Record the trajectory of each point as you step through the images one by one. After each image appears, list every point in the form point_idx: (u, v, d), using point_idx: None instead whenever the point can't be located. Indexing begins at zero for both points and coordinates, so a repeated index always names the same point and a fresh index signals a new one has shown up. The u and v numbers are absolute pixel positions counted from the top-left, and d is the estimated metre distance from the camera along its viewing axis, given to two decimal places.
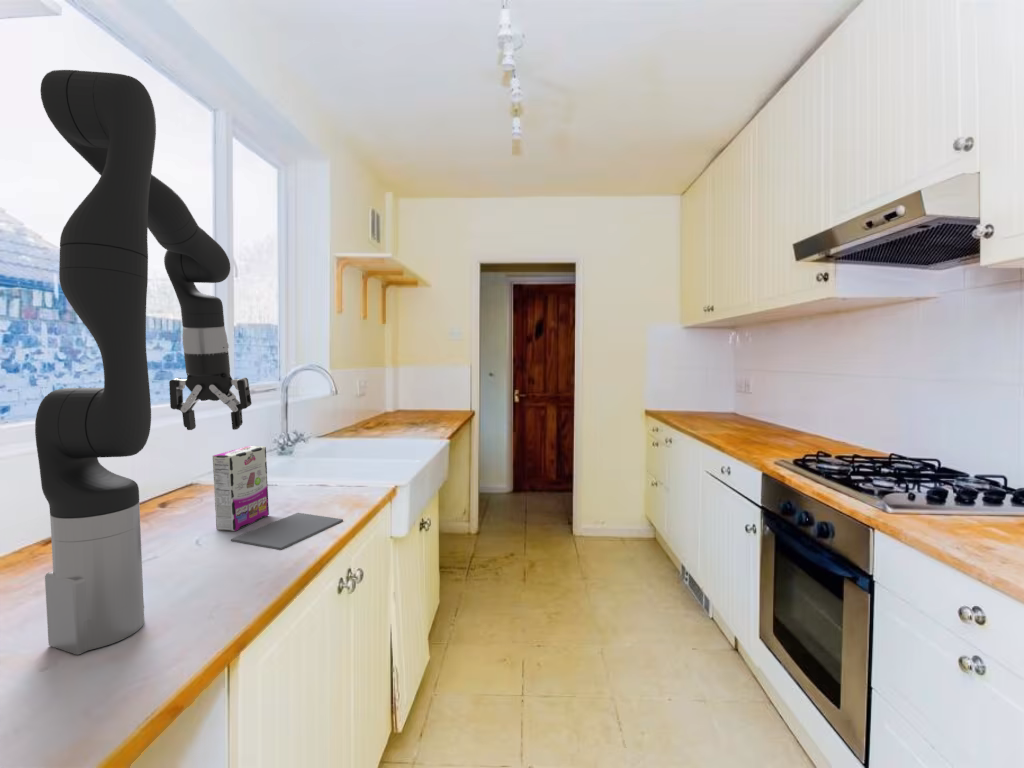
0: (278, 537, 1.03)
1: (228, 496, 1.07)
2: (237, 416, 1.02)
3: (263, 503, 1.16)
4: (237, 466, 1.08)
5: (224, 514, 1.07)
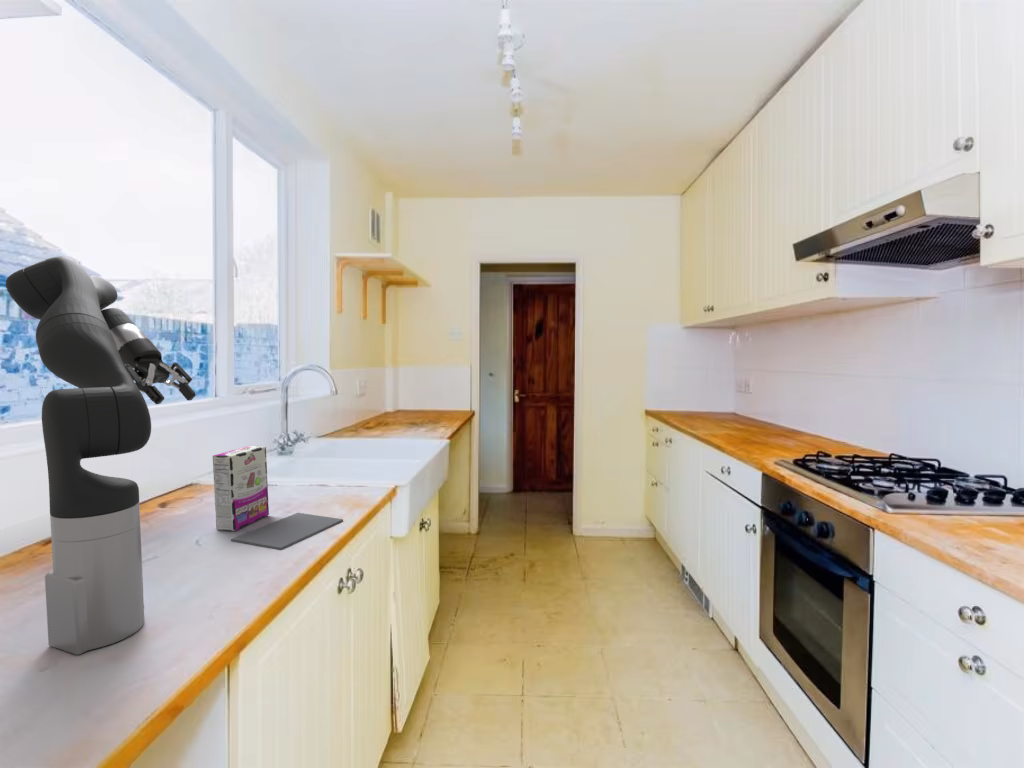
0: (278, 537, 1.03)
1: (228, 496, 1.07)
2: None
3: (263, 503, 1.16)
4: (237, 466, 1.08)
5: (224, 514, 1.07)
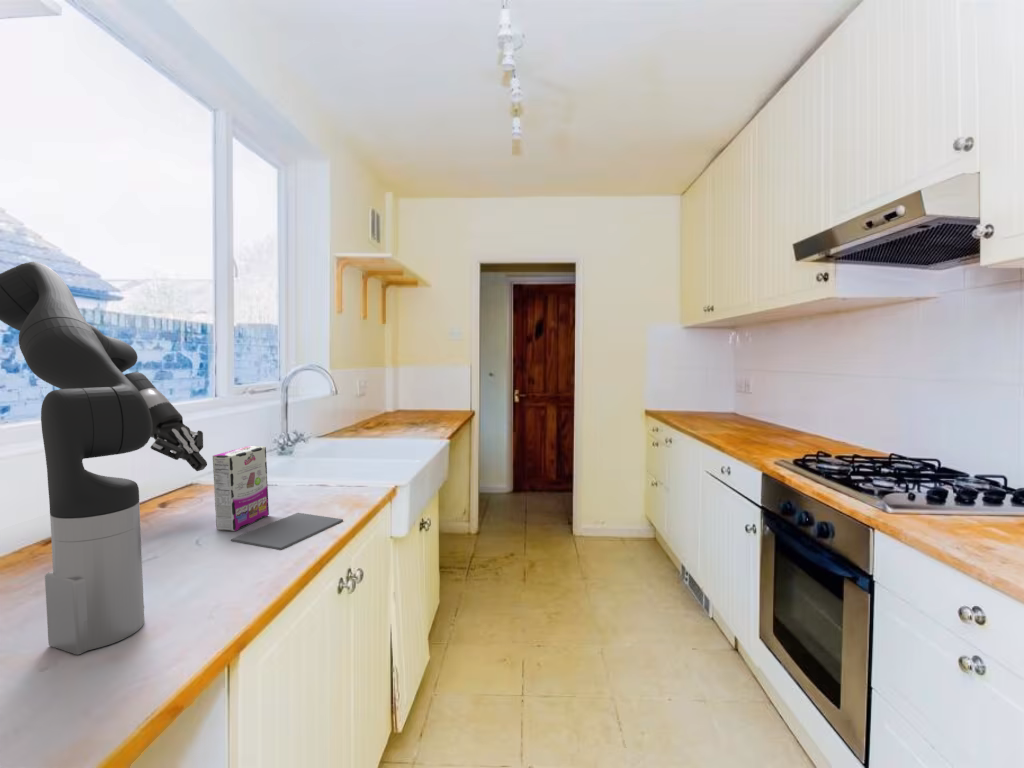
0: (278, 537, 1.03)
1: (228, 496, 1.07)
2: None
3: (263, 503, 1.16)
4: (237, 466, 1.08)
5: (224, 514, 1.07)
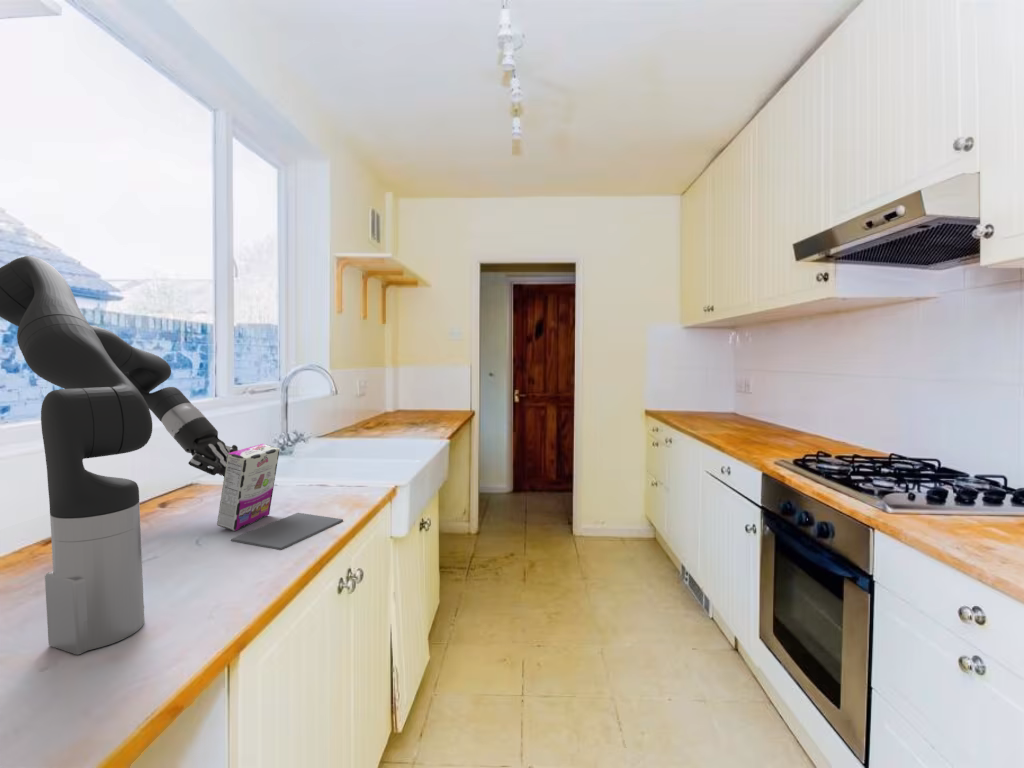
0: (278, 537, 1.03)
1: (235, 496, 1.07)
2: None
3: (266, 503, 1.16)
4: (250, 468, 1.07)
5: (228, 512, 1.07)
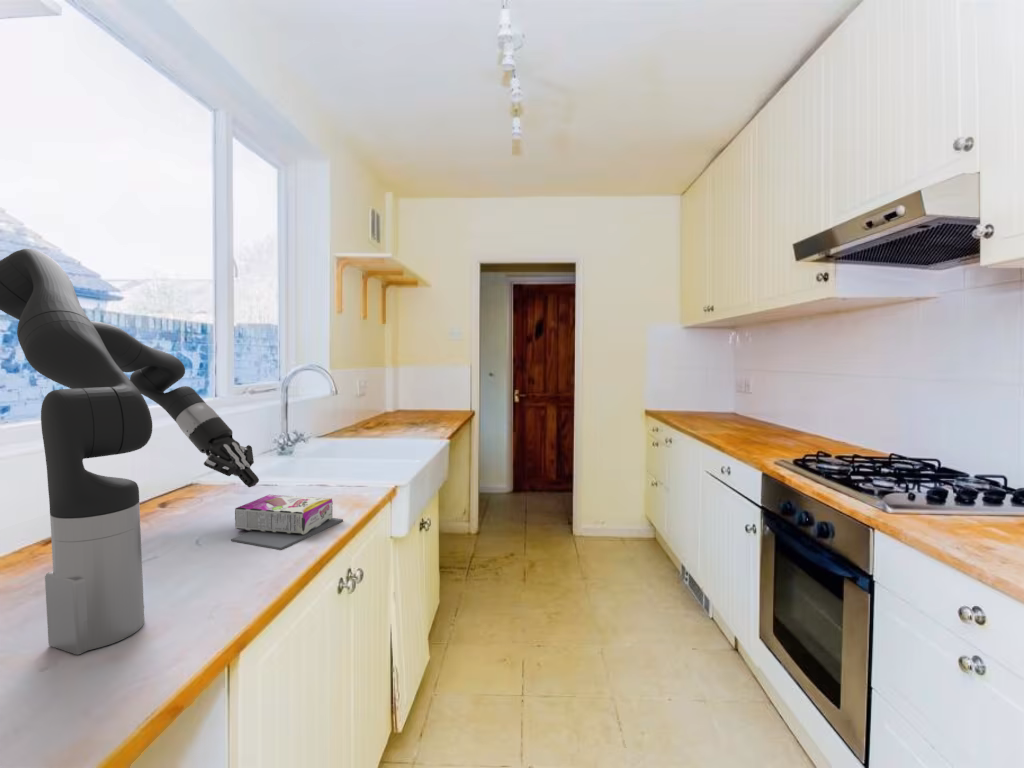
0: (278, 537, 1.03)
1: (266, 527, 1.05)
2: None
3: None
4: None
5: (249, 520, 1.06)
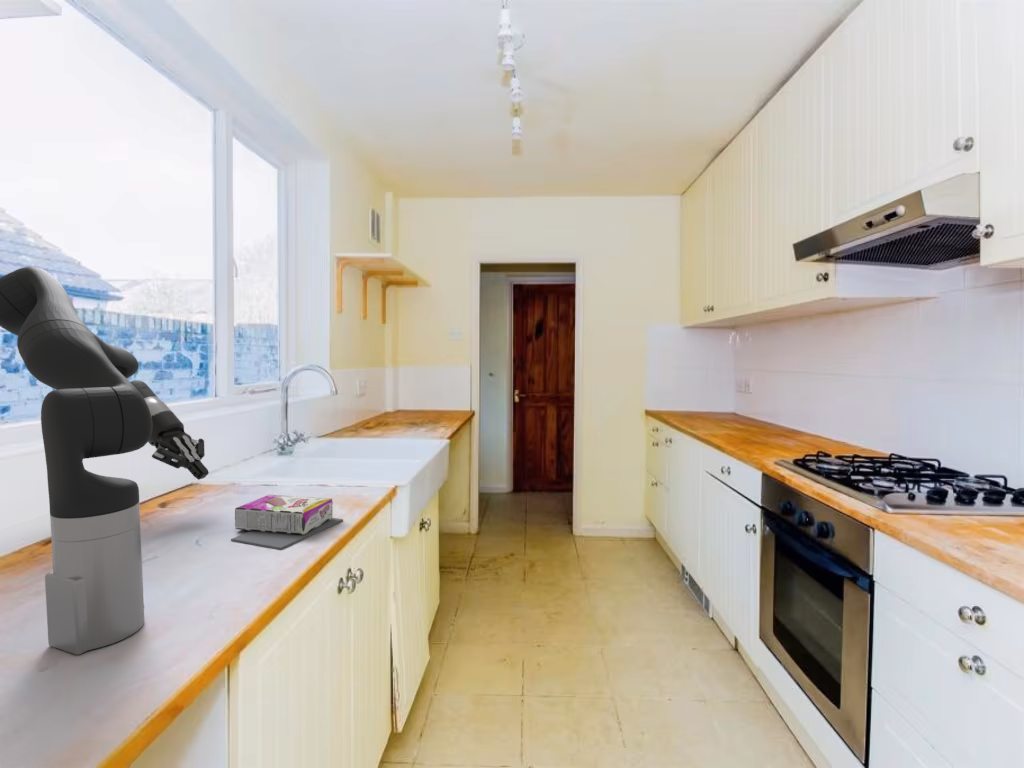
0: (278, 537, 1.03)
1: (266, 527, 1.05)
2: None
3: None
4: None
5: (249, 520, 1.06)
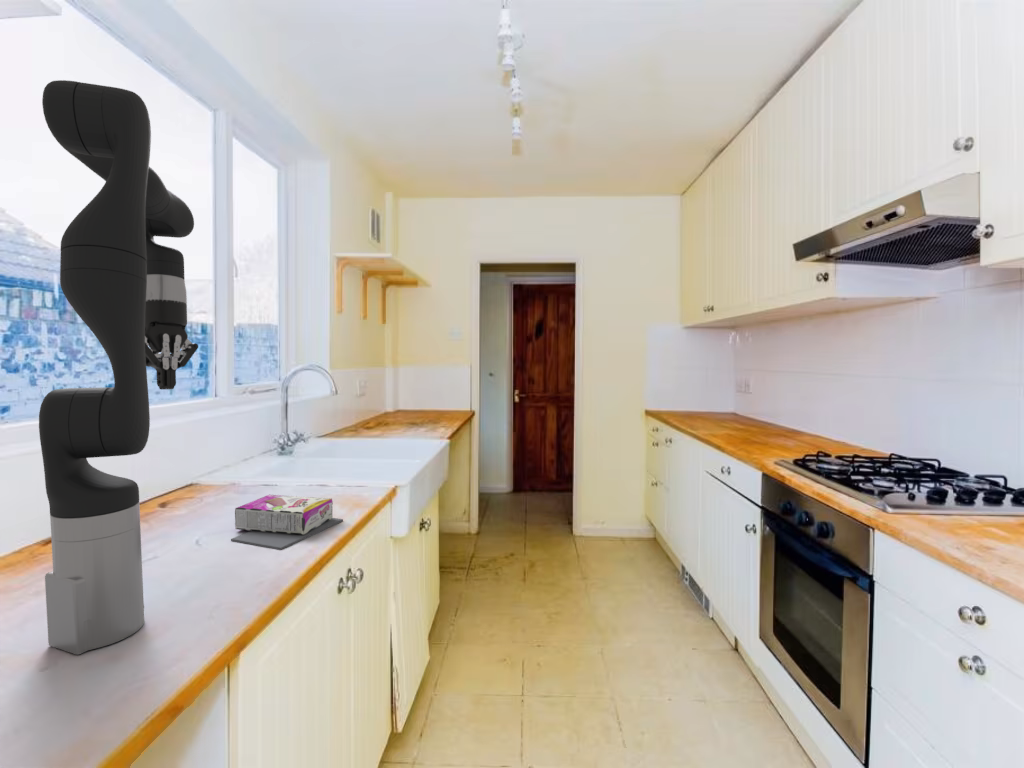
0: (278, 537, 1.03)
1: (266, 527, 1.05)
2: None
3: None
4: None
5: (249, 520, 1.06)
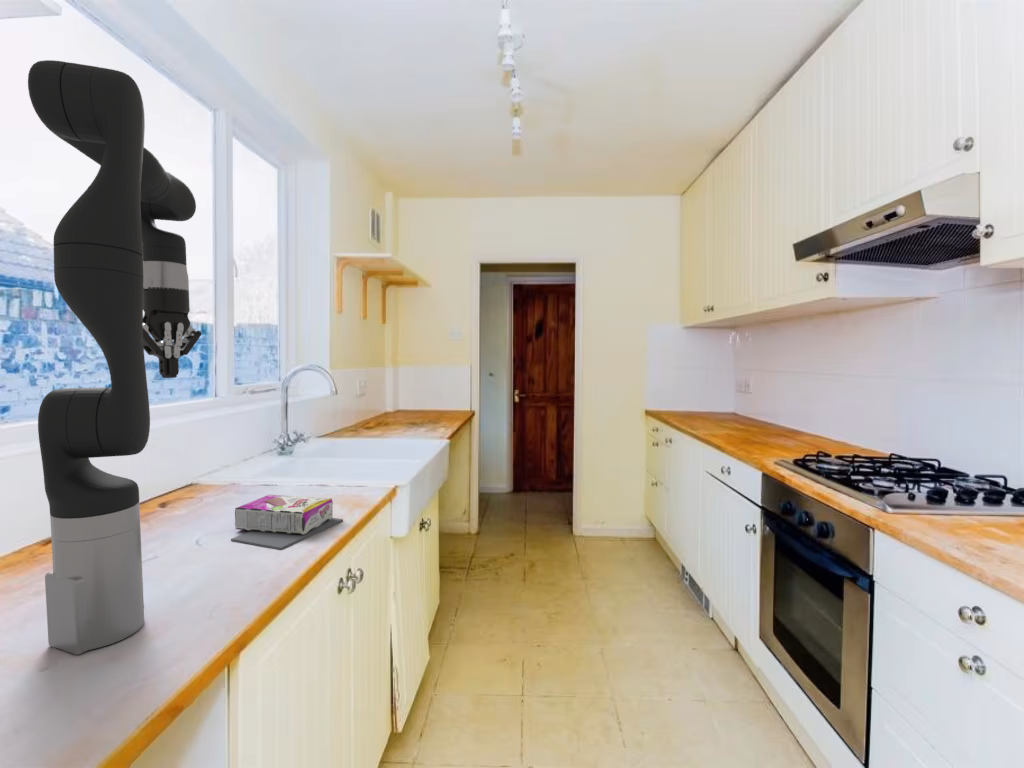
0: (278, 537, 1.03)
1: (266, 527, 1.05)
2: None
3: None
4: None
5: (249, 520, 1.06)
